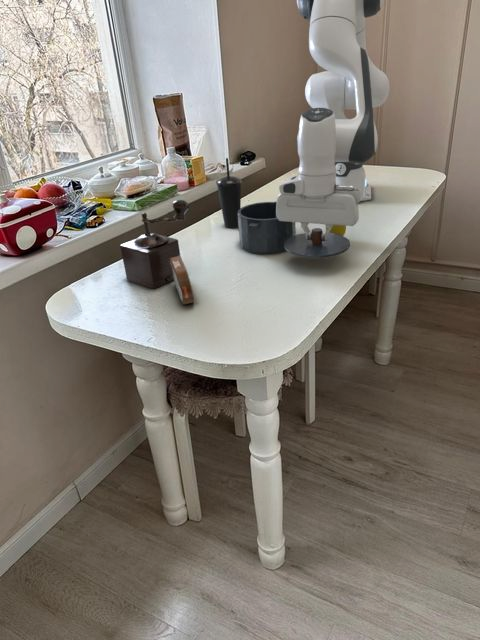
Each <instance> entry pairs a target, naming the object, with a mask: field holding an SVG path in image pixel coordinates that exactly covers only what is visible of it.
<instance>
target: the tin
mask: <svg viewBox="0 0 480 640" xmlns="http://www.w3.org/2000/svg"><path fill="white" fill-rule="evenodd" d="M170 264H171V266H172V271H173V278H174V279H173V281H174V285H175V288H176V291H177V294H178V297H179V299H180V301H181V304H182V305H187V304H192V303H193V304H194V303H195V299H194V293H193V292H194V291H193V288H192V283H191V279H190V276H189V274H188V270H187V267H186V266H185V263H184V261H183V258H182V257H181V254H180V255H179V256H177V257H172V258H170Z"/></svg>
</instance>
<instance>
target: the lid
mask: <svg viewBox="0 0 480 640" xmlns="http://www.w3.org/2000/svg"><path fill="white" fill-rule="evenodd" d="M311 231H312V240H306V233H305V232H304V233H298V234H296V235H295V236H292V237H290V238H288V239H287V240H286V241H285V242H284V248H285V250H286V251H285V252H288V253H289V254H291V255H294V256H297V257H301V258H308V259H309V258H310V259H319V258H321V259H322V258H330V257H335V256H338V255H341V254H344V253H345V252H348V250H349V249H350V248H351V241H350V239H348V237H346V236H345V235H344V236H341V235H338V234H334V233H329V235H328V241H321V234H322V233H323V232H324V231H323V229H322V228H320V227H315V228H312V229H311Z"/></svg>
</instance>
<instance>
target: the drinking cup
mask: <svg viewBox="0 0 480 640" xmlns="http://www.w3.org/2000/svg"><path fill="white" fill-rule="evenodd" d="M225 165H226V175H225V176H222V177H220V178H219V179H217V180H216V181H215V184H216V185H217V186H216V187H217V191H218V197H219V203H220V208H221V213H222V219H223V223H224V227H225V228H226V229H235V228H239V225H238V210H239V209H241V208H242V207H241V204H242V202H241V200H242V199H241V198H242V183H243V181H242V180H243V179H242V178H239V177H237V176H233V175H230V165H229V158H227V157H225Z"/></svg>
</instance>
